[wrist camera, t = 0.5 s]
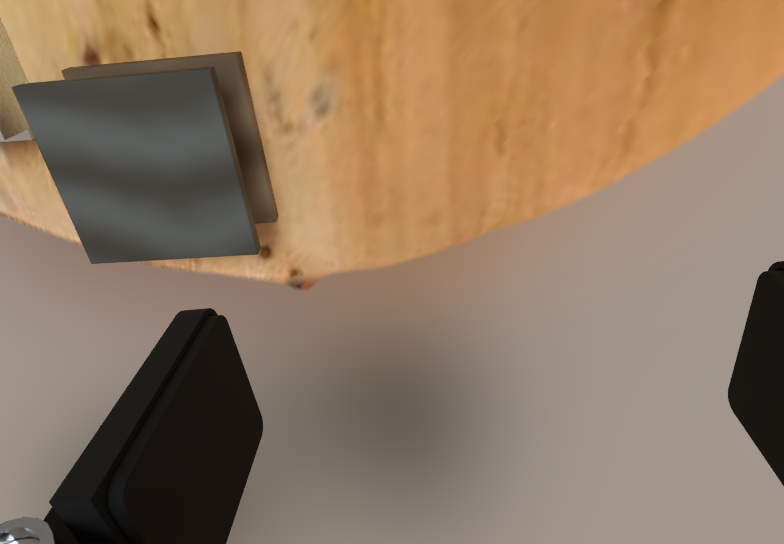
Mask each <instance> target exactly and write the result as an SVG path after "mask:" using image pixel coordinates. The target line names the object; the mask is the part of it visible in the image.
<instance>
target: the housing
mask: <svg viewBox="0 0 784 544" xmlns="http://www.w3.org/2000/svg"><path fill="white" fill-rule="evenodd" d="M27 83H28V81H27V79H26V76H25V74H24V72H23V69H22V67H21V65H20V63H19V60H18V58H17V56H16V53H15V51H14V49H13V47H12V44H11V42H10V40H9V37H8V35H7V33H6V30H5V28H4V26H3V24H2V21H1V19H0V142H10V141H22V140H33V139H35V138H34V136H33V134H32V132H31V130H30V127H29V125H28V123H27V121H26V119H25V116H24V114H23V112H22V110H21V108H20V105H19V103H18V101H17V99H16V97H15V94H14V92H13V90H12V88H11V87H13V86H16V85H19V84H27Z"/></svg>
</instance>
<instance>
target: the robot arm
mask: <svg viewBox="0 0 784 544" xmlns="http://www.w3.org/2000/svg"><path fill="white" fill-rule="evenodd" d="M728 399H729V403H730V406H731V408H732V410H733V412H734V414H735V415H736V417H737V418H738V419H739V421H740V422H741V424H742V425H743V427H744V428H745V430H746V431H747V433H748V434H749V436H750V437H751V439H752V440H753V441H754V443H755V445H756V446H757V447H758V449H759V450H760V452H761V453H762V455H763V456H764V458H765V459H766V461H767V462H768V464H769V465H770V467H771V468H772V469H773V471H774V472H775V474H776V475H777V477H778V478H779V480H780V481H781V483H782V484H783V486H784V261H781V262H776V263H774V264H772V266H771V267H770V268H769V270H768V271H765V272H763V273H761V275H760V276H759V278H758V280H757V284H756V288H755V291H754V295H753V299H752V303H751V306H750V310H749V314H748V318H747V321H746V325H745V329H744V333H743V336H742V340H741V344H740V347H739V351H738V355H737V359H736V362H735V366H734V370H733V374H732V378H731V381H730V385H729V389H728ZM262 432H263V421H262V416H261V413H260V410H259V407H258V405H257V402H256V399H255V396H254V394H253V391H252V388H251V385H250V383H249V380H248V377H247V374H246V371H245V369H244V366H243V363H242V360H241V358H240V355H239V352H238V349H237V346H236V344H235V341H234V338H233V335H232V333H231V330H230V327H229V324H228V322H227V319H226V318H225V317H224V316H222V315H217V313H216V312H215V310H213V309H211V308H208V309H196V310H184V311H180V312H179V313H178V314H177V315H176V316H175V318H174V319H173V321H172V322H171V324H170V325H169V327H168V328H167V330H166V331H165V333H164V334H163V336H162V337H161V338H160V340H159V341H158V343H157V344H156V346H155V348H154V349H153V350H152V352H151V353H150V355H149V356H148V358H147V359H146V360H145V362H144V364H143V365H142V366H141V368H140V369H139V371H138V372H137V374H136V375H135V377H134V378H133V380H132V381H131V383H130V384H129V385H128V387H127V388H126V390H125V391H124V393H123V394H122V396H121V397H120V399H119V400H118V402H117V403H116V404H115V406H114V407H113V409H112V410H111V412H110V413H109V415H108V416H107V418H106V419H105V421H104V422H103V423H102V425H101V426H100V428H99V430H98V431H97V433H96V434H95V436H94V437H93V438H92V440H91V441H90V443H89V444H88V446H87V447H86V449H85V450H84V451H83V453H82V454H81V456H80V457H79V459H78V460H77V462H76V463H75V465H74V466H73V468H72V469H71V471H70V472H69V473H68V475H67V476H66V478H65V479H64V481H63V482H62V484H61V485H60V487H59V488H58V490H57V491H56V493H55V494H54V496H53V497H52V498H51V500H50V501H49V503H50V504H51V506H52V508H51V510H50V511H49V513H48V514H47V516H46V517H45V519H44V520H41V519H39V518H31V517H22V518H18V519H14V520H10V521H6V522H4V523H2V524H0V544H226V542H227V539H228V536H229V533H230V530H231V527H232V524H233V521H234V518H235V515H236V512H237V509H238V506H239V503H240V500H241V497H242V494H243V491H244V488H245V485H246V482H247V479H248V476H249V473H250V470H251V467H252V464H253V461H254V458H255V455H256V452H257V449H258V446H259V443H260V440H261V437H262Z"/></svg>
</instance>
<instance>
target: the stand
mask: <svg viewBox="0 0 784 544" xmlns="http://www.w3.org/2000/svg"><path fill="white" fill-rule="evenodd" d="M61 71H62V73H63V76H64V78H65V80H60V81H49V82H38V83H27V84H19V85H16V86H13V87H11V88H12V90H13V92H14V94H15V97H16V99H17V101H18V103H19V105H20V108H21V110H22V112H23V114H24V116H25V119H26V121H27V123H28V125H29V127H30V130H31V132H32V134H33V136H34V138H35V141H36V143H37V145H38V147H39V149H40V152H41V154H42V156H43V158H44V160H45V163H46V165H47V167H48V169H49V171H50V174H51V176H52V178H53V180H54V182H55V185H56V187H57V189H58V191H59V193H60V196H61V198H62V200H63V202H64V204H65V207H66V209H67V211H68V213H69V215H70V218H71V220H72V222H73V224H74V226H75V229H76V231H77V233H78V235H79V237H80V240H81V242H82V244H83V246H84V248H85V251H86V253H87V255H88V257H89V259H90V262H91V264H98V263H114V262H133V261H150V260H168V259H185V258H203V257H220V256H238V255H255V254H258V253H259V251H260V249H261V247H260V243H259V239H258V235H257V231H256V227H255V223H268V222H275V221H276V219H277V217H278V213H277V209H276V204H275V200H274V196H273V191H272V187H271V182H270V178H269V173H268V169H267V165H266V160H265V156H264V151H263V147H262V142H261V138H260V134H259V129H258V125H257V120H256V116H255V112H254V107H253V103H252V98H251V94H250V89H249V85H248V81H247V76H246V72H245V67H244V63H243V58H242V54H241V52H231V53H220V54H209V55H199V56H188V57H177V58H167V59H156V60H145V61H134V62H124V63H113V64H102V65H92V66H81V67H70V68H67V69H64V70H61Z"/></svg>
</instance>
